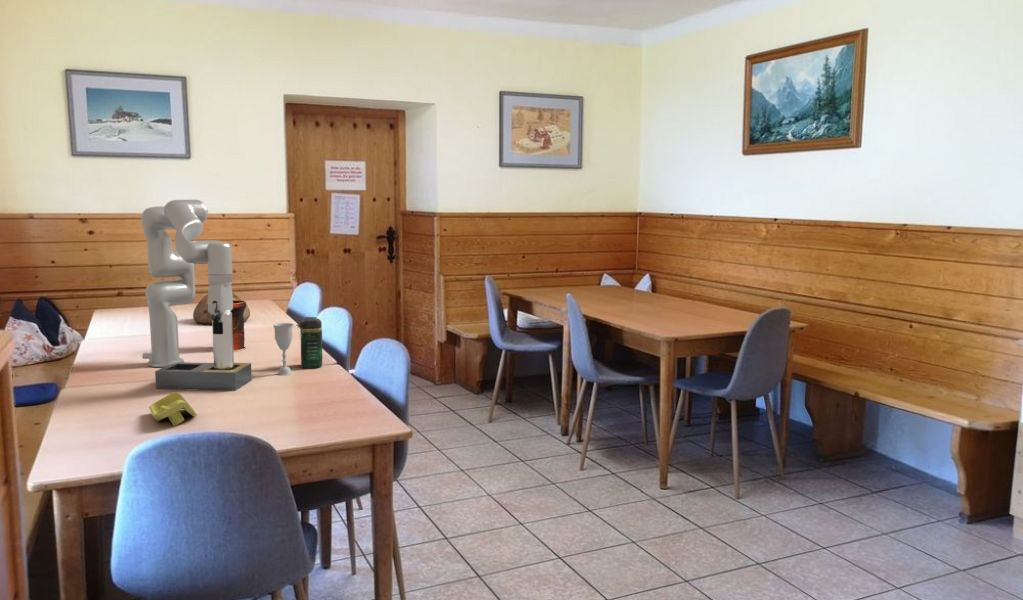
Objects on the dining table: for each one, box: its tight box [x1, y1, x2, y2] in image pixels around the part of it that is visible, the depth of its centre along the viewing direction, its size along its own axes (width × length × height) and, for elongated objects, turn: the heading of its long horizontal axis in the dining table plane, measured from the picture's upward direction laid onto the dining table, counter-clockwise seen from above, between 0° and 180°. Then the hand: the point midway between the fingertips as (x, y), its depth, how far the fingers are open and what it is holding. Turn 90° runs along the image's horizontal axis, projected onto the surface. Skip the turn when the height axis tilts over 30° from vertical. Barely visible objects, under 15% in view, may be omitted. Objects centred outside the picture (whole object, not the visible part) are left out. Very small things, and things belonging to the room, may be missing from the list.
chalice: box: [272, 322, 294, 376], centre depth 283 cm, size 7×7×18 cm
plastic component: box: [148, 391, 198, 426], centre depth 226 cm, size 20×7×10 cm
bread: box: [192, 292, 251, 325], centre depth 394 cm, size 26×23×15 cm
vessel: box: [232, 300, 247, 352], centre depth 327 cm, size 14×14×20 cm
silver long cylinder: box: [211, 310, 235, 370], centre depth 265 cm, size 6×6×25 cm
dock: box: [154, 361, 253, 391], centre depth 267 cm, size 27×14×6 cm, turn 87°
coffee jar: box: [299, 316, 323, 369], centre depth 295 cm, size 10×8×19 cm
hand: (222, 331), depth 265 cm, fingers closed on silver long cylinder, 6 cm apart
